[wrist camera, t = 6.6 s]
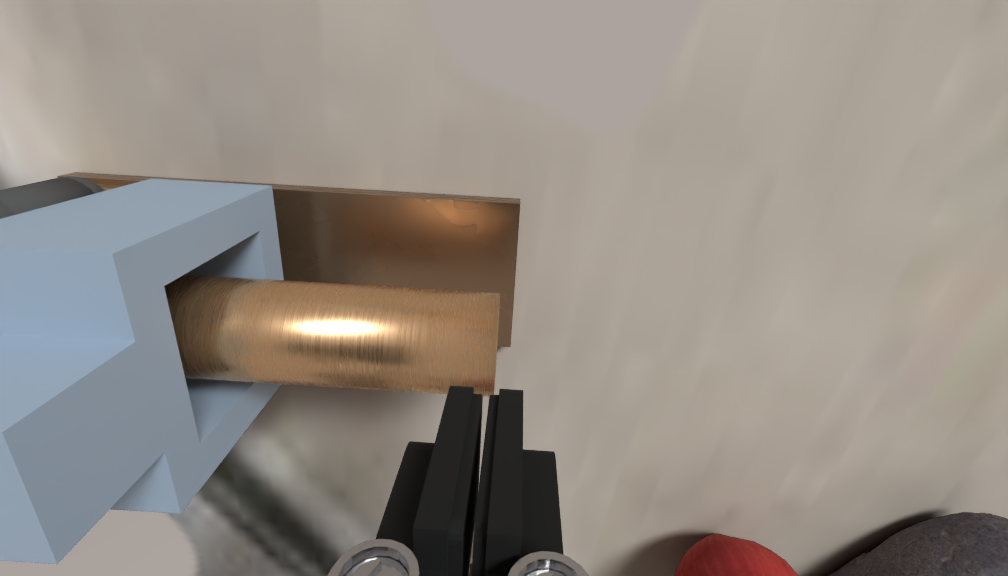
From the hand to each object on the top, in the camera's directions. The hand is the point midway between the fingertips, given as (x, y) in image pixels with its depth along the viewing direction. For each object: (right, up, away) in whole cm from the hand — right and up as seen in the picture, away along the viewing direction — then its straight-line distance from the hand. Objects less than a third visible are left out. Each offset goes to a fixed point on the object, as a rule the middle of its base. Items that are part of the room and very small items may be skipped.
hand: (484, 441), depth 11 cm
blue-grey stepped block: (-9, +4, +6) cm, 12 cm away
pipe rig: (-8, +5, +9) cm, 13 cm away
